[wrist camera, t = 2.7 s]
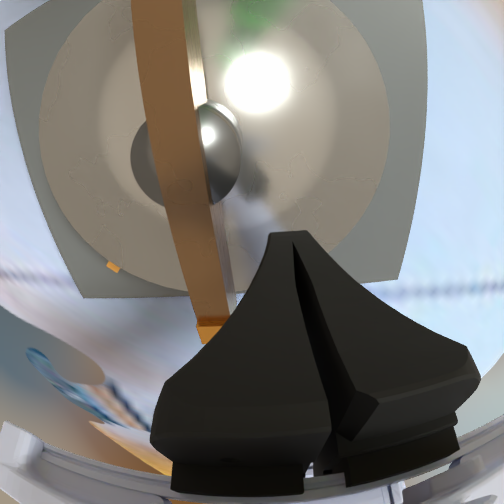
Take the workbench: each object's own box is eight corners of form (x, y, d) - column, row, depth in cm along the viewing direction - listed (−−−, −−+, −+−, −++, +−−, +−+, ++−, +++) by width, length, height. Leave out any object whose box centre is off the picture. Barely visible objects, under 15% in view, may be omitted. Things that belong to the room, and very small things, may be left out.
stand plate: (387, 265, 15) (397, 284, 14) (93, 284, 16) (83, 302, 15) (399, -31, 6) (417, -39, 5) (23, 29, 7) (1, 30, 6)
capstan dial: (361, 264, 13) (388, 327, 10) (105, 281, 14) (76, 338, 11) (367, -27, 6) (419, -58, 2) (37, 32, 6) (-29, 37, 3)
